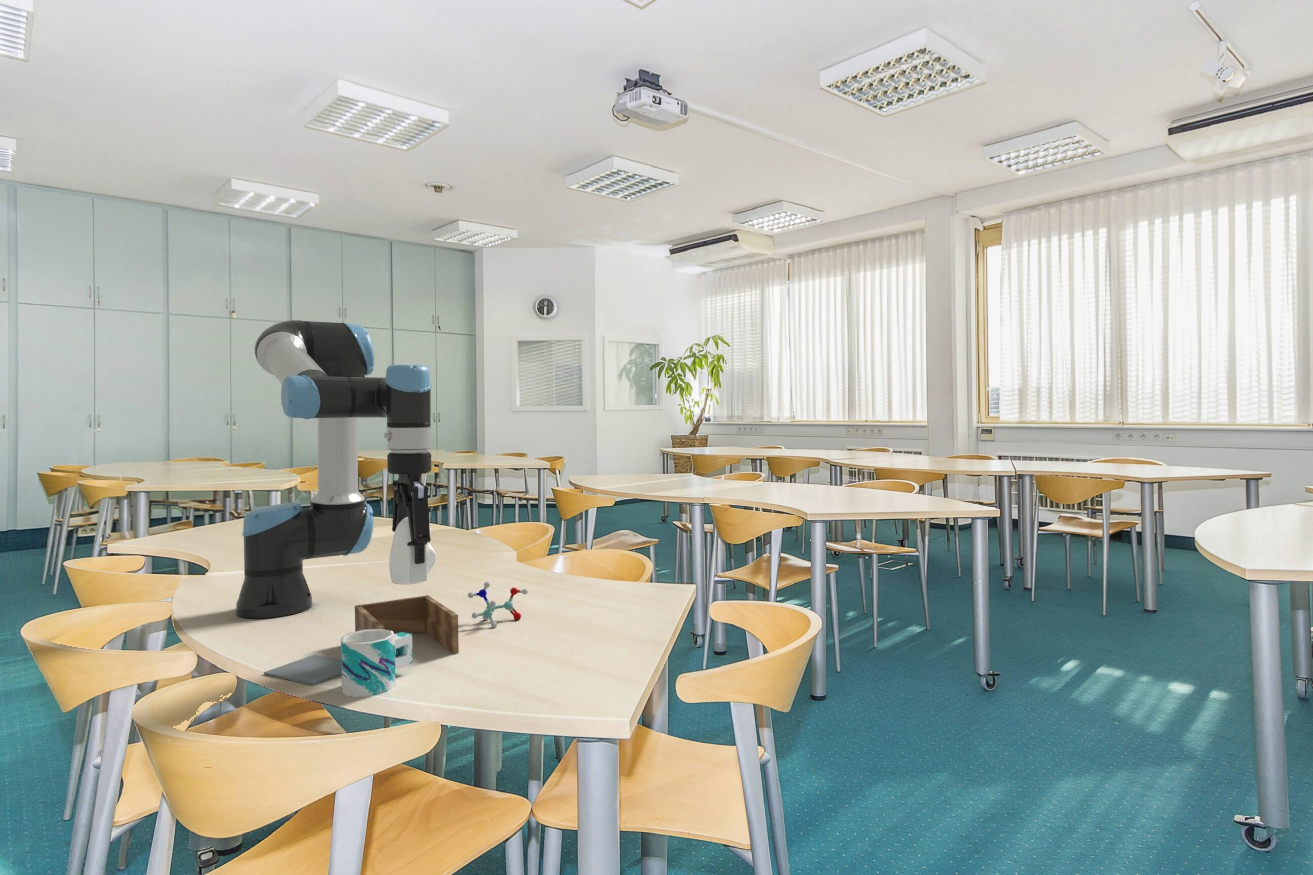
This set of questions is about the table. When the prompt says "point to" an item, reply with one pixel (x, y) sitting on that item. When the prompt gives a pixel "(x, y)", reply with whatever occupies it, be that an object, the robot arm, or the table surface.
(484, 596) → the molecular model
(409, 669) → the table surface
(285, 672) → the felt mat
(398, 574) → the figurine
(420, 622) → the walnut box
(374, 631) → the mug
